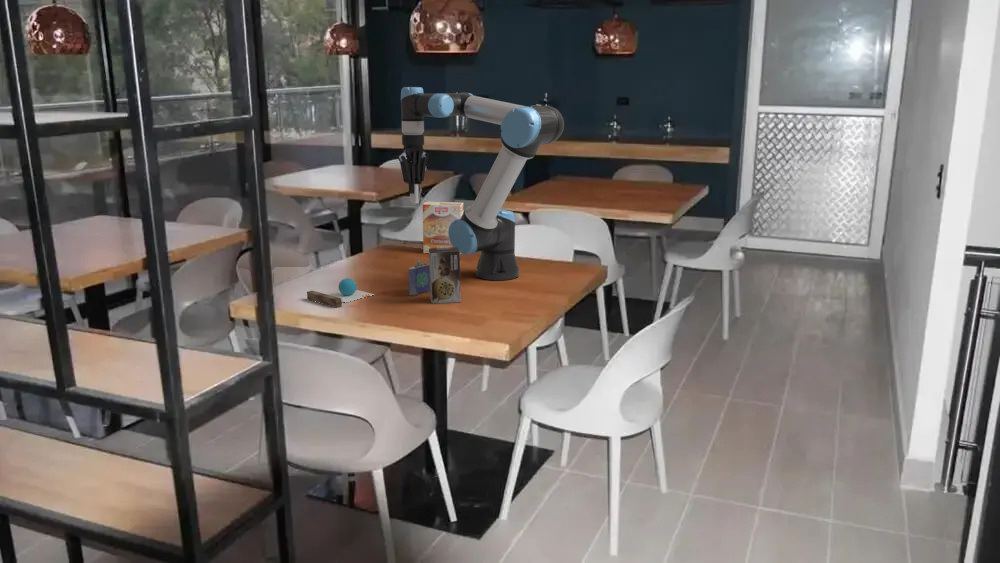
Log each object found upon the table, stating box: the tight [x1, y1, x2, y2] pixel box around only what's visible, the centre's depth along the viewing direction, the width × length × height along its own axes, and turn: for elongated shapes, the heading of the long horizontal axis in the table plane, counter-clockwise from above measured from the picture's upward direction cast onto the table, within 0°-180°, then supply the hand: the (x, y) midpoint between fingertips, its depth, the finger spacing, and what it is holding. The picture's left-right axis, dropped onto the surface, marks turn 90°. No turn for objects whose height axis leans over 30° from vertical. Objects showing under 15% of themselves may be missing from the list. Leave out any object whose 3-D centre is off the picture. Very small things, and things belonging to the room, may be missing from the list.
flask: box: [408, 259, 430, 297], centre depth 258 cm, size 9×3×11 cm, turn 141°
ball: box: [338, 277, 357, 296], centre depth 255 cm, size 6×6×6 cm
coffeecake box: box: [422, 201, 465, 254], centre depth 315 cm, size 15×7×20 cm, turn 83°
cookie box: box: [428, 247, 462, 305], centre depth 249 cm, size 9×6×16 cm
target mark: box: [326, 289, 376, 304], centre depth 256 cm, size 12×12×1 cm
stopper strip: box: [306, 290, 343, 309], centre depth 247 cm, size 14×2×2 cm, turn 50°
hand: (414, 202), depth 281 cm, fingers closed
